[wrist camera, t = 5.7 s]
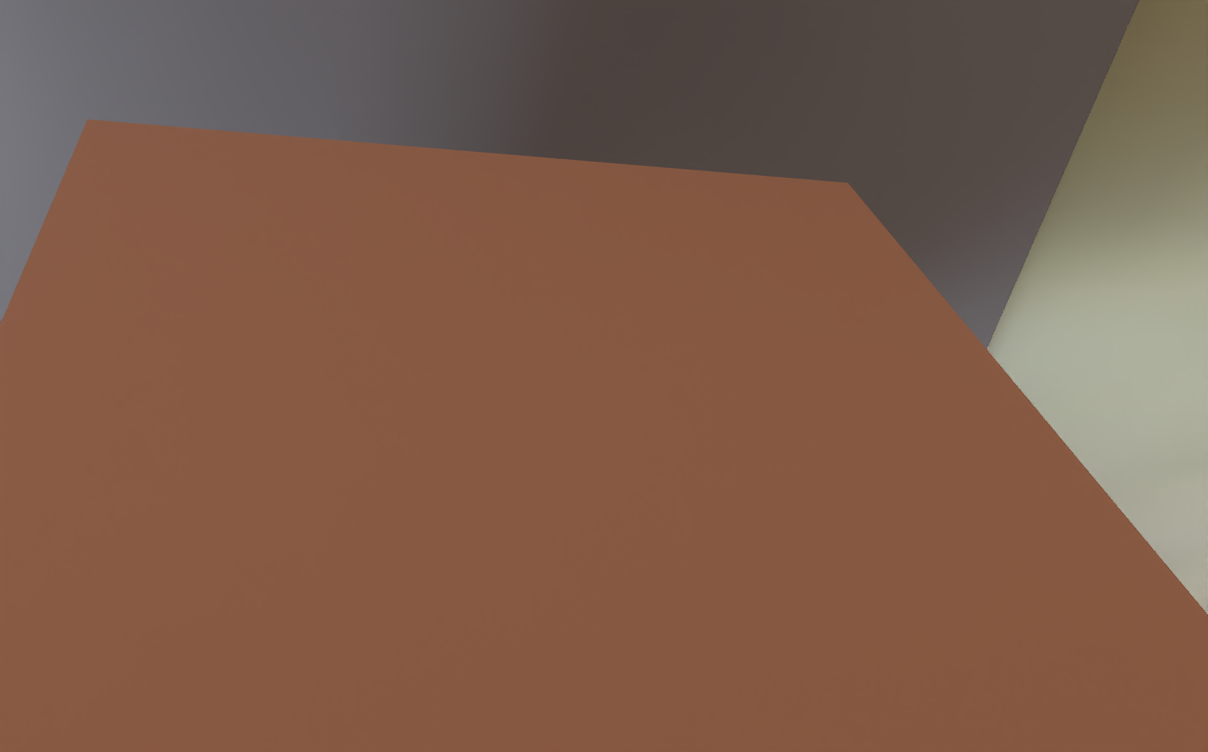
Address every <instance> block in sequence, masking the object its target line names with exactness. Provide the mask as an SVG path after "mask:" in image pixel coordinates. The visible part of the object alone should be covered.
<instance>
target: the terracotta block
mask: <svg viewBox="0 0 1208 752" xmlns="http://www.w3.org/2000/svg"><path fill="white" fill-rule="evenodd" d="M0 752H1208V614H1207V613H1206V612H1205V611H1204V610H1203V608H1202V607H1201V606H1200V605H1199V604H1198V602H1197V601H1196V600H1195V599H1194V598H1193V596H1192V595H1191V594H1190V593H1189V592H1188V590H1187V589H1186V588H1185V587H1184V586H1183V584H1182V583H1181V582H1180V581H1179V580H1178V578H1177V577H1176V576H1175V575H1174V574H1173V572H1172V571H1171V570H1170V569H1169V568H1168V566H1167V565H1166V564H1165V563H1164V562H1163V560H1162V559H1161V558H1160V557H1159V556H1158V554H1157V553H1156V552H1155V551H1154V550H1153V548H1152V547H1151V546H1150V545H1149V544H1148V542H1147V541H1146V540H1145V539H1144V538H1143V536H1142V535H1141V534H1140V533H1139V532H1138V530H1137V529H1136V528H1135V527H1134V526H1133V524H1132V523H1131V522H1130V521H1129V520H1128V518H1127V517H1126V516H1125V515H1124V514H1123V512H1122V511H1121V510H1120V509H1119V508H1118V506H1117V505H1116V504H1115V503H1114V502H1113V500H1112V499H1111V498H1110V497H1109V496H1108V494H1107V493H1106V492H1105V491H1104V490H1103V488H1102V487H1101V486H1100V485H1099V484H1098V482H1097V481H1096V480H1095V479H1094V478H1093V476H1092V475H1091V474H1090V473H1089V472H1088V470H1087V469H1086V468H1085V467H1084V466H1083V464H1082V463H1081V462H1080V461H1079V460H1078V458H1077V457H1076V456H1075V455H1074V454H1073V452H1072V451H1071V450H1070V449H1069V448H1068V446H1067V445H1066V444H1065V443H1064V442H1063V440H1062V439H1061V438H1060V437H1059V436H1058V434H1057V433H1056V432H1055V431H1054V430H1053V428H1052V427H1051V426H1050V425H1049V424H1048V422H1047V421H1046V420H1045V419H1044V418H1043V416H1042V415H1041V414H1040V413H1039V412H1038V410H1037V409H1036V408H1035V407H1034V406H1033V404H1032V403H1031V402H1030V401H1029V400H1028V398H1027V397H1026V396H1025V395H1024V394H1023V392H1022V391H1021V390H1020V389H1019V388H1018V386H1017V385H1016V384H1015V383H1014V382H1013V380H1012V379H1011V378H1010V377H1009V376H1008V374H1007V373H1006V372H1005V371H1004V370H1003V368H1002V367H1001V366H1000V365H999V364H998V362H997V361H996V360H995V359H994V358H993V356H992V355H991V354H990V353H989V352H988V350H987V349H986V348H985V347H984V346H983V344H982V343H981V342H980V341H979V340H978V338H977V337H976V336H975V335H974V334H973V332H972V331H971V330H970V329H969V328H968V326H967V325H966V324H965V323H964V322H963V320H962V319H961V318H960V317H959V316H958V314H957V313H956V312H955V311H954V310H953V308H952V307H951V306H950V305H949V304H948V302H947V301H946V300H945V299H944V298H943V296H942V295H941V294H940V293H939V292H938V290H937V289H936V288H935V287H934V286H933V284H932V283H931V282H930V281H929V280H928V278H927V277H926V276H925V275H924V274H923V272H922V271H921V270H920V269H919V268H918V266H917V265H916V264H915V263H914V262H913V260H912V259H911V258H910V257H909V256H908V254H907V253H906V252H905V251H904V250H903V248H902V247H901V246H900V245H899V244H898V242H897V241H896V240H895V239H894V238H893V236H892V235H891V234H890V233H889V232H888V230H887V229H886V228H885V227H884V226H883V224H882V223H881V222H880V221H879V220H878V218H877V217H876V216H875V215H874V214H873V212H872V211H871V210H870V209H869V208H868V206H867V205H866V204H865V203H864V202H863V200H862V199H861V198H860V197H859V196H858V194H857V193H856V192H855V191H854V190H853V188H852V187H851V186H850V185H849V184H848V183H844V182H832V181H820V180H808V179H796V178H784V177H772V176H760V175H748V174H736V173H724V172H712V171H700V170H688V169H676V168H664V167H652V166H640V165H628V164H616V163H604V162H592V161H581V160H569V159H557V158H545V157H533V156H521V155H509V154H497V153H485V152H473V151H461V150H449V149H437V148H425V147H413V146H401V145H389V144H377V143H365V142H353V141H341V140H329V139H317V138H305V137H293V136H281V135H269V134H257V133H246V132H234V131H222V130H210V129H198V128H186V127H174V126H162V125H150V124H138V123H126V122H114V121H102V120H90V119H87V122H86V124H85V126H84V129H83V131H82V133H81V136H80V138H79V140H78V143H77V145H76V147H75V150H74V152H73V154H72V157H71V159H70V162H69V164H68V166H67V169H66V171H65V173H64V176H63V178H62V180H61V183H60V185H59V187H58V190H57V192H56V194H55V197H54V199H53V201H52V204H51V206H50V209H49V211H48V213H47V216H46V218H45V220H44V223H43V225H42V227H41V230H40V232H39V234H38V237H37V239H36V241H35V244H34V246H33V248H32V251H31V253H30V256H29V258H28V260H27V263H26V265H25V267H24V270H23V272H22V274H21V277H20V279H19V281H18V284H17V286H16V288H15V291H14V293H13V295H12V298H11V300H10V303H9V305H8V307H7V310H6V312H5V314H4V317H3V319H2V321H1V324H0Z"/></svg>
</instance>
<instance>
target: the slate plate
mask: <svg viewBox="0 0 1208 752" xmlns="http://www.w3.org/2000/svg"><path fill="white" fill-rule="evenodd" d="M1138 1H1139V0H0V324H1V321H2V319H3V317H4V314H5V312H6V310H7V307H8V305H9V303H10V300H11V298H12V295H13V293H14V291H15V288H16V286H17V284H18V281H19V279H20V277H21V274H22V272H23V270H24V267H25V265H26V263H27V260H28V258H29V256H30V253H31V251H32V248H33V246H34V244H35V241H36V239H37V237H38V234H39V232H40V230H41V227H42V225H43V223H44V220H45V218H46V216H47V213H48V211H49V209H50V206H51V204H52V201H53V199H54V197H55V194H56V192H57V190H58V187H59V185H60V183H61V180H62V178H63V176H64V173H65V171H66V169H67V166H68V164H69V162H70V159H71V157H72V154H73V152H74V150H75V147H76V145H77V143H78V140H79V138H80V136H81V133H82V131H83V129H84V126H85V124H86V122H87V119H90V120H102V121H114V122H126V123H138V124H150V125H162V126H174V127H186V128H198V129H210V130H222V131H234V132H246V133H257V134H269V135H281V136H293V137H305V138H317V139H329V140H341V141H353V142H365V143H377V144H389V145H401V146H413V147H425V148H437V149H449V150H461V151H473V152H485V153H497V154H509V155H521V156H533V157H545V158H557V159H569V160H581V161H592V162H604V163H616V164H628V165H640V166H652V167H664V168H676V169H688V170H700V171H712V172H724V173H736V174H748V175H760V176H772V177H784V178H796V179H808V180H820V181H832V182H844V183H848V184H849V185H850V186H851V187H852V188H853V190H854V191H855V192H856V193H857V194H858V196H859V197H860V198H861V199H862V200H863V202H864V203H865V204H866V205H867V206H868V208H869V209H870V210H871V211H872V212H873V214H874V215H875V216H876V217H877V218H878V220H879V221H880V222H881V223H882V224H883V226H884V227H885V228H886V229H887V230H888V232H889V233H890V234H891V235H892V236H893V238H894V239H895V240H896V241H897V242H898V244H899V245H900V246H901V247H902V248H903V250H904V251H905V252H906V253H907V254H908V256H909V257H910V258H911V259H912V260H913V262H914V263H915V264H916V265H917V266H918V268H919V269H920V270H921V271H922V272H923V274H924V275H925V276H926V277H927V278H928V280H929V281H930V282H931V283H932V284H933V286H934V287H935V288H936V289H937V290H938V292H939V293H940V294H941V295H942V296H943V298H944V299H945V300H946V301H947V302H948V304H949V305H950V306H951V307H952V308H953V310H954V311H955V312H956V313H957V314H958V316H959V317H960V318H961V319H962V320H963V322H964V323H965V324H966V325H967V326H968V328H969V329H970V330H971V331H972V332H973V334H974V335H975V336H976V337H977V338H978V340H979V341H980V342H981V343H982V344H983V346H984V347H985V348H986V349H987V347H988V345H989V342H990V340H991V338H992V335H993V333H994V331H995V329H996V326H997V324H998V322H999V319H1000V317H1001V315H1002V313H1003V310H1004V308H1005V306H1006V303H1007V301H1008V299H1009V297H1010V294H1011V292H1012V290H1013V287H1014V285H1015V283H1016V281H1017V278H1018V276H1019V274H1020V271H1021V269H1022V267H1023V264H1024V262H1025V260H1026V258H1027V255H1028V253H1029V251H1030V248H1031V246H1032V244H1033V242H1034V239H1035V237H1036V235H1037V232H1038V230H1039V228H1040V226H1041V223H1042V221H1043V219H1044V216H1045V214H1046V212H1047V210H1048V207H1049V205H1050V203H1051V200H1052V198H1053V196H1054V193H1055V191H1056V189H1057V187H1058V184H1059V182H1060V180H1061V177H1062V175H1063V173H1064V171H1065V168H1066V166H1067V164H1068V161H1069V159H1070V157H1071V155H1072V152H1073V150H1074V148H1075V145H1076V143H1077V141H1078V139H1079V136H1080V134H1081V132H1082V129H1083V127H1084V125H1085V123H1086V120H1087V118H1088V116H1089V113H1090V111H1091V109H1092V106H1093V104H1094V102H1095V100H1096V97H1097V95H1098V93H1099V90H1100V88H1101V86H1102V84H1103V81H1104V79H1105V77H1106V74H1107V72H1108V70H1109V68H1110V65H1111V63H1112V61H1113V58H1114V56H1115V54H1116V52H1117V49H1118V47H1119V45H1120V42H1121V40H1122V38H1123V35H1124V33H1125V31H1126V29H1127V26H1128V24H1129V22H1130V19H1131V17H1132V15H1133V13H1134V10H1135V8H1136V6H1137V3H1138Z"/></svg>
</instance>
